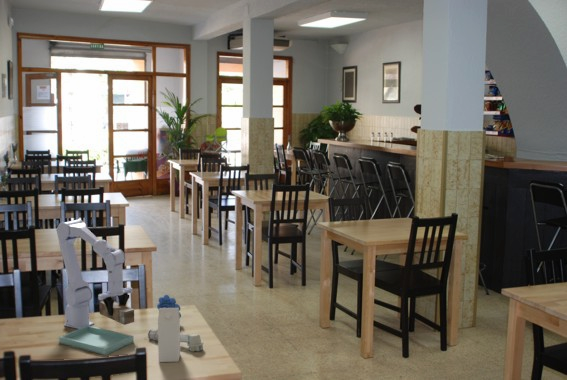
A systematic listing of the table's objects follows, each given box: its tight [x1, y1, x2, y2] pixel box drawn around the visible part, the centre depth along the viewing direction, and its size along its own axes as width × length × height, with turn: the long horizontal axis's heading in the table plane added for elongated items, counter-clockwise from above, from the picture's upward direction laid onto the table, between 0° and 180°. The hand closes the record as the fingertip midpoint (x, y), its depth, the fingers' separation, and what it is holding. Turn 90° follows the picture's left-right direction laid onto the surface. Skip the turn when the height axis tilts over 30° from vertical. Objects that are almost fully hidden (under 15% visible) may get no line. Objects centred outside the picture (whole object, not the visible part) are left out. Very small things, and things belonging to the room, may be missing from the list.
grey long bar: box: [147, 328, 204, 352], centre depth 244 cm, size 5×7×25 cm
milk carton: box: [157, 308, 181, 363], centre depth 230 cm, size 7×7×19 cm
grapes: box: [156, 294, 182, 318], centre depth 267 cm, size 12×7×12 cm, turn 66°
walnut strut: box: [98, 300, 135, 326], centre depth 254 cm, size 18×5×5 cm, turn 47°
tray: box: [58, 325, 135, 356], centre depth 246 cm, size 24×15×2 cm, turn 62°
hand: (116, 313), depth 254 cm, fingers closed on walnut strut, 4 cm apart
